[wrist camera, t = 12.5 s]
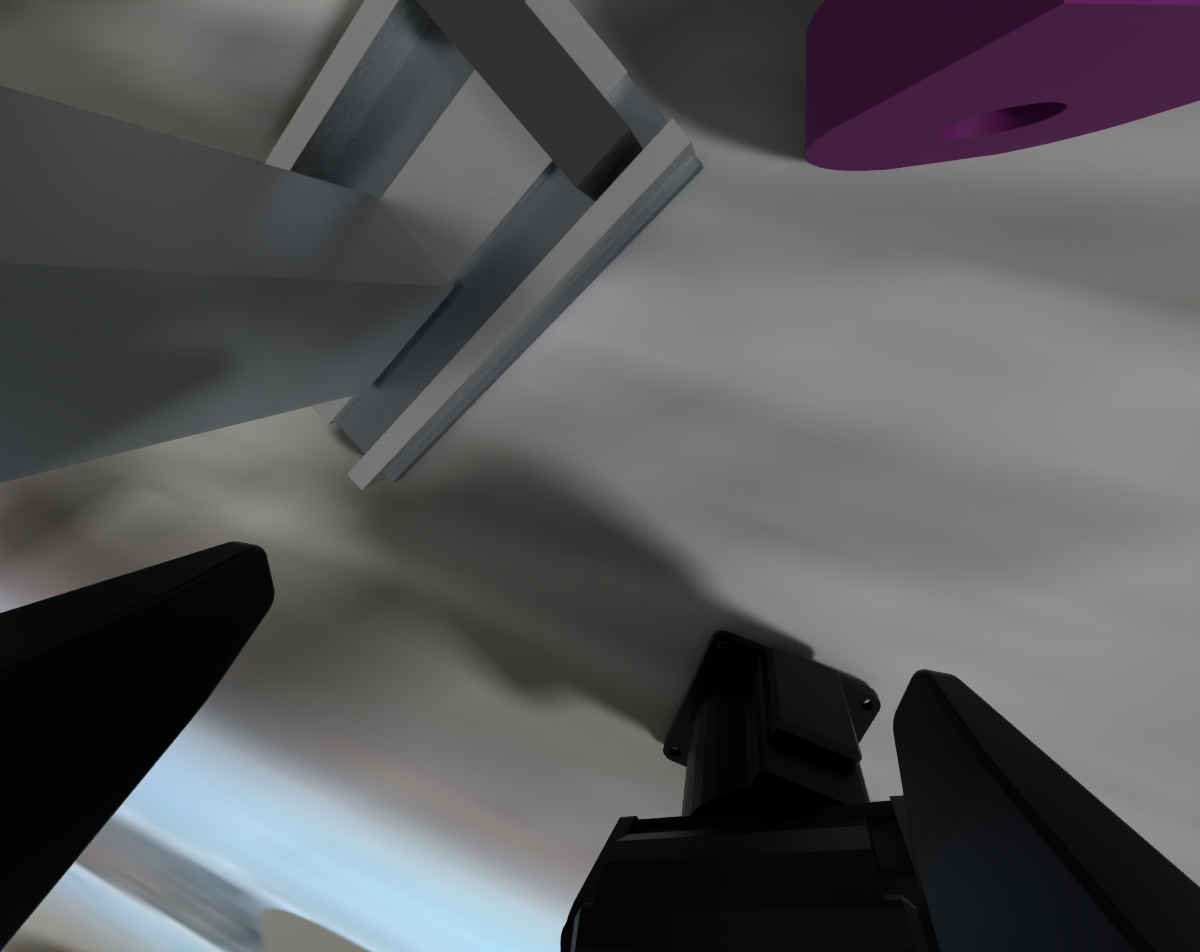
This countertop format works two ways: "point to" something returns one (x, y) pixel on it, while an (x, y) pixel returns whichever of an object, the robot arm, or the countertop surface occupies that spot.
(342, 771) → the countertop surface
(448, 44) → the rail plate
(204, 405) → the block
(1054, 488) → the countertop surface
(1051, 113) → the mounting bracket
